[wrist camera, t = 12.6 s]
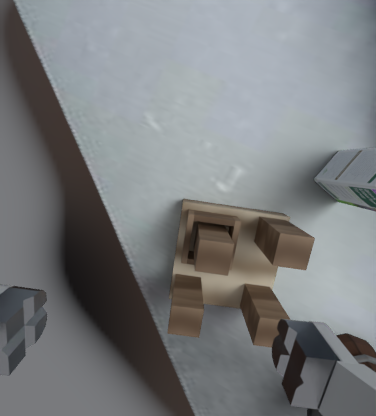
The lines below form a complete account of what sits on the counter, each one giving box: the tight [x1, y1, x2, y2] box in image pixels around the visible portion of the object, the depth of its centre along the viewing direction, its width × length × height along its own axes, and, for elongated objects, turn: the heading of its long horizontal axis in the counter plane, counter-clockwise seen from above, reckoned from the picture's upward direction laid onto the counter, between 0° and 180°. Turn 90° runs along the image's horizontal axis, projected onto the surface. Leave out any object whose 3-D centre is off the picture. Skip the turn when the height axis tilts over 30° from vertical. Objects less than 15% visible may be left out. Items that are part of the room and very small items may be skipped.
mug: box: [307, 334, 376, 416], centre depth 35 cm, size 16×12×15 cm
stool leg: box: [194, 221, 234, 276], centre depth 31 cm, size 4×4×8 cm
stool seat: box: [168, 199, 315, 347], centre depth 33 cm, size 16×16×10 cm
